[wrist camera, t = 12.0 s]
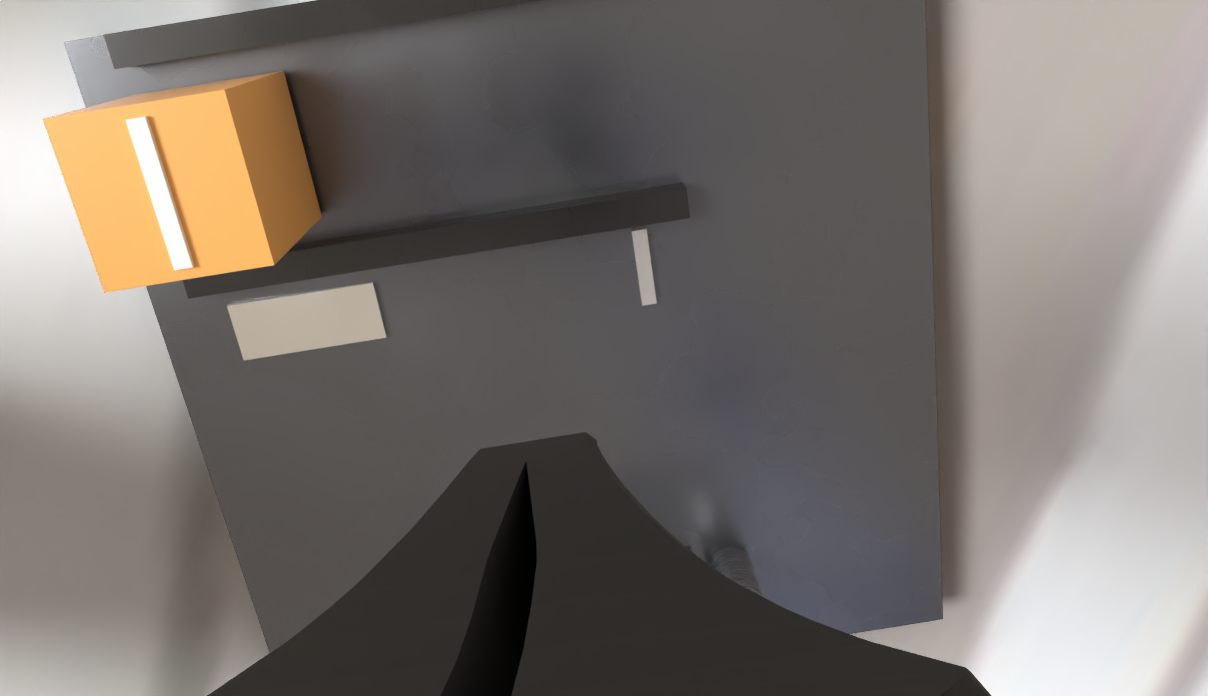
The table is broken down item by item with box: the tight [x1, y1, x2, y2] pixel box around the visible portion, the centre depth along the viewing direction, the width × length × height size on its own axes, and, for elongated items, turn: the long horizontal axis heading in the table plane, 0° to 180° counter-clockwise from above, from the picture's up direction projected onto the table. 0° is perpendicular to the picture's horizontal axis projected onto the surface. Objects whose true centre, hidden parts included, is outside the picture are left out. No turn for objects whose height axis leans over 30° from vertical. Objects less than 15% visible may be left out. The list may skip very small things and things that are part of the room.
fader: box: [43, 71, 322, 293], centre depth 17 cm, size 3×3×4 cm
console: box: [64, 0, 943, 653], centre depth 19 cm, size 16×16×5 cm
